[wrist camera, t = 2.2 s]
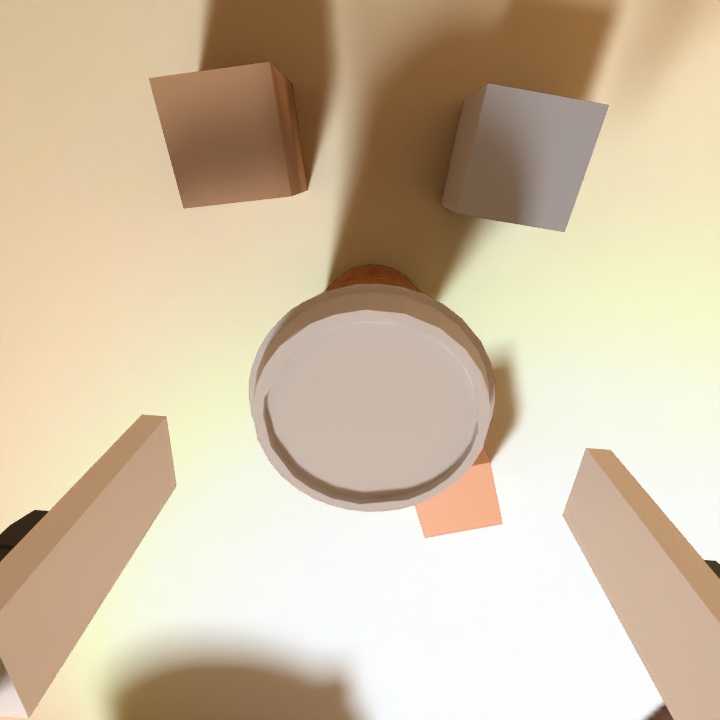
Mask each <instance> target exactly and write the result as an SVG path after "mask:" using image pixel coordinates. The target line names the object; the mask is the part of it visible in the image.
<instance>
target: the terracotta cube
mask: <svg viewBox="0 0 720 720" xmlns="http://www.w3.org/2000/svg"><path fill="white" fill-rule="evenodd" d="M415 508H416V511H417V514H418V517H419V521H420V524H421V527H422V530H423V534H424V537H425V538H428V537H433V536H439V535H444V534H450V533H455V532H461V531H466V530H472V529H477V528H483V527H488V526H494V525H499V524H503V523H502V518H501V513H500V508H499V503H498V498H497V494H496V489H495V484H494V479H493V474H492V469H491V464H490V460H489V458H488V455H487V453H486V450H485V448H484V446H483V448H482V450H481V452H480V453H479V455H478V457H477V458H476V460H475V462H474V463H473V465H472V466H471V467H470V468H469V469H468V471H467V472H466V473H465V474H464V475H463V477H462V478H460V479H459V480H458V481H456V482H455V483H454V484H452V485H451V486H450V487H448V488H447V489H445V490H444V491H443V492H441V493H440V494H438V495H437V496H435V497H433V498H431V499H428V500H426V501H424V502H421V503H419V504H417V505H415Z"/></svg>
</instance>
